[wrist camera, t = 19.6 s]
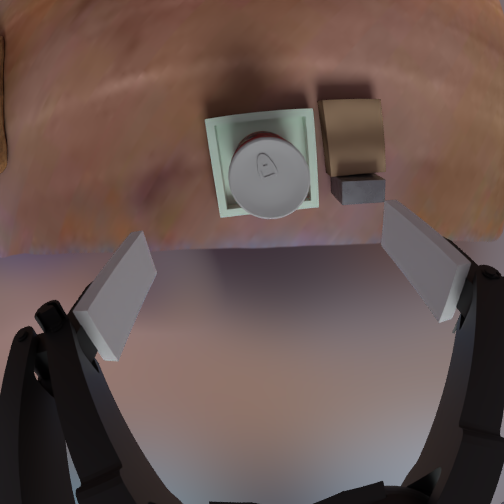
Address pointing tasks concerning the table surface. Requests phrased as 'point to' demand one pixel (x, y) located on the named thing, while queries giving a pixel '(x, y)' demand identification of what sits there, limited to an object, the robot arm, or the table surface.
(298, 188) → the canned food
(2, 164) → the bread
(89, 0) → the table surface
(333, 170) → the tan block
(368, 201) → the bench dog
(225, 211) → the tray
